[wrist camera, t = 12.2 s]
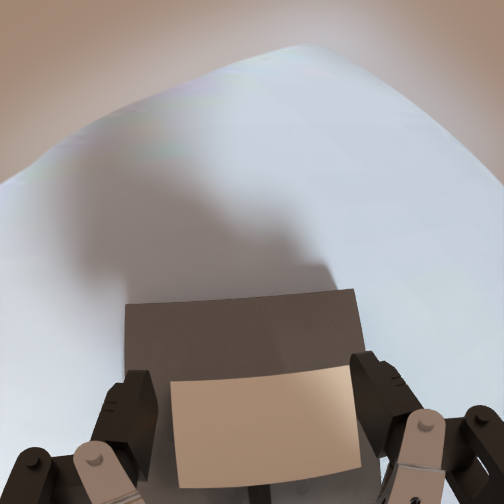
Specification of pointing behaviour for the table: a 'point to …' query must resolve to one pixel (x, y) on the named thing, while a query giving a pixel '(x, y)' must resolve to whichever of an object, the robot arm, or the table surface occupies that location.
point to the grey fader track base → (245, 366)
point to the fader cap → (264, 428)
